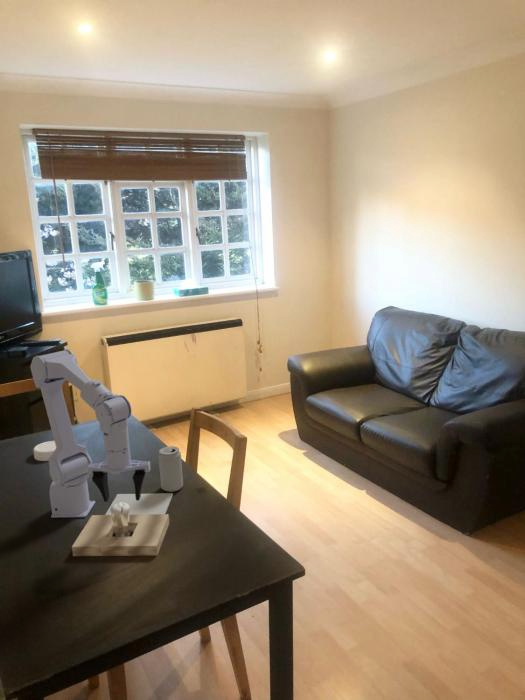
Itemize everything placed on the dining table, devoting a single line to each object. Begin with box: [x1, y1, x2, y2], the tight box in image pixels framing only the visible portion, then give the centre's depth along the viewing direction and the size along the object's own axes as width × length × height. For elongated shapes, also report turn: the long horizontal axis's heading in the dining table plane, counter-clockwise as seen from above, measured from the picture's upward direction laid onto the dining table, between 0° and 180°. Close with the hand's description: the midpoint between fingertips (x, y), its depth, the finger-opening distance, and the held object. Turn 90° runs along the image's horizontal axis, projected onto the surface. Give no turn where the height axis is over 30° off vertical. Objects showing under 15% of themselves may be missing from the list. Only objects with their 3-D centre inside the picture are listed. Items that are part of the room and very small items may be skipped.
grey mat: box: [104, 492, 174, 515], centre depth 150 cm, size 16×12×1 cm
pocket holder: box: [71, 513, 170, 557], centre depth 135 cm, size 20×14×2 cm
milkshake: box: [110, 502, 131, 537], centre depth 134 cm, size 4×5×10 cm
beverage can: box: [157, 445, 184, 493], centre depth 158 cm, size 6×6×12 cm
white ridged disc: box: [32, 440, 56, 462], centre depth 186 cm, size 10×10×4 cm
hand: (122, 499), depth 133 cm, fingers open, 7 cm apart
